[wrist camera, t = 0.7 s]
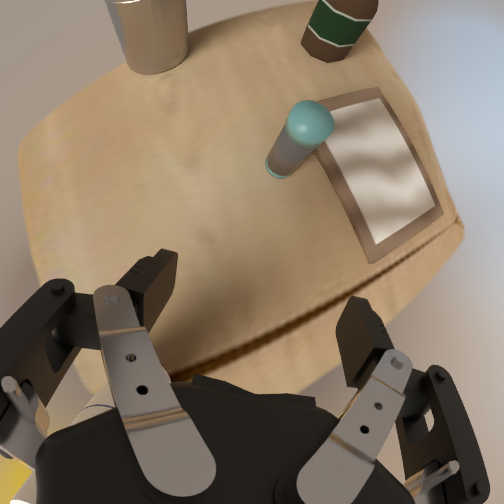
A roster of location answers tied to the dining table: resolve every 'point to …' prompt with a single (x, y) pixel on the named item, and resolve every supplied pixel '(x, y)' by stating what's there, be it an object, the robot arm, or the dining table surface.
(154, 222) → the dining table surface
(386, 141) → the writing board
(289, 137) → the teal-capped glass tube
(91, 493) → the robot arm
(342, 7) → the beer bottle
